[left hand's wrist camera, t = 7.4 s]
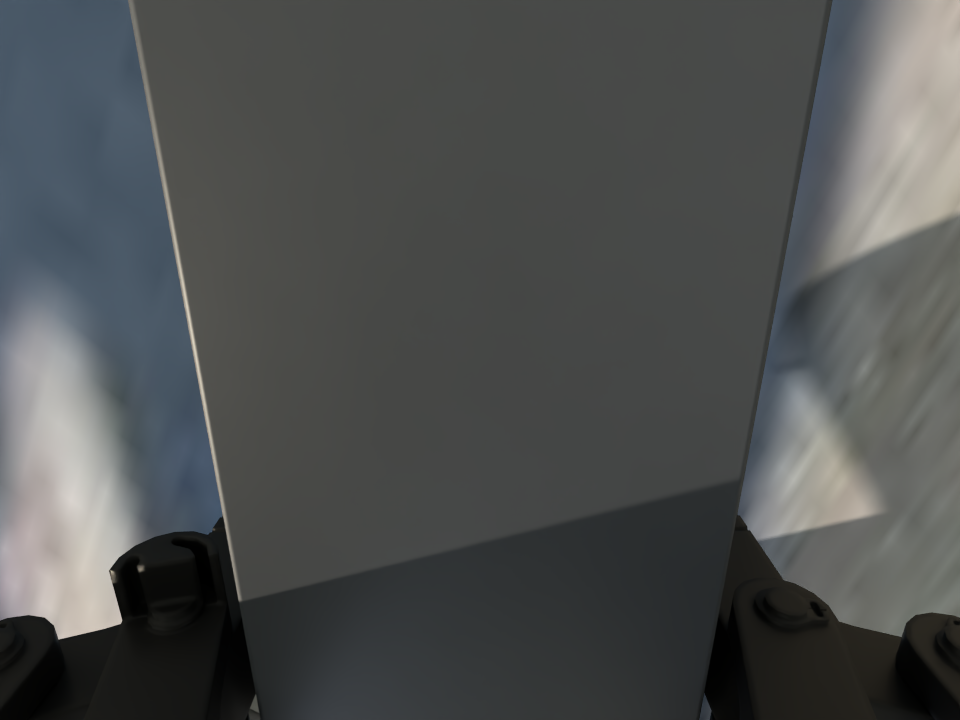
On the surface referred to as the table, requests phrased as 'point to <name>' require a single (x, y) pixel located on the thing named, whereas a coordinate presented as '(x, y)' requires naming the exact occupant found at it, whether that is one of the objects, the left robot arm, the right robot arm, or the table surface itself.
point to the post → (480, 332)
